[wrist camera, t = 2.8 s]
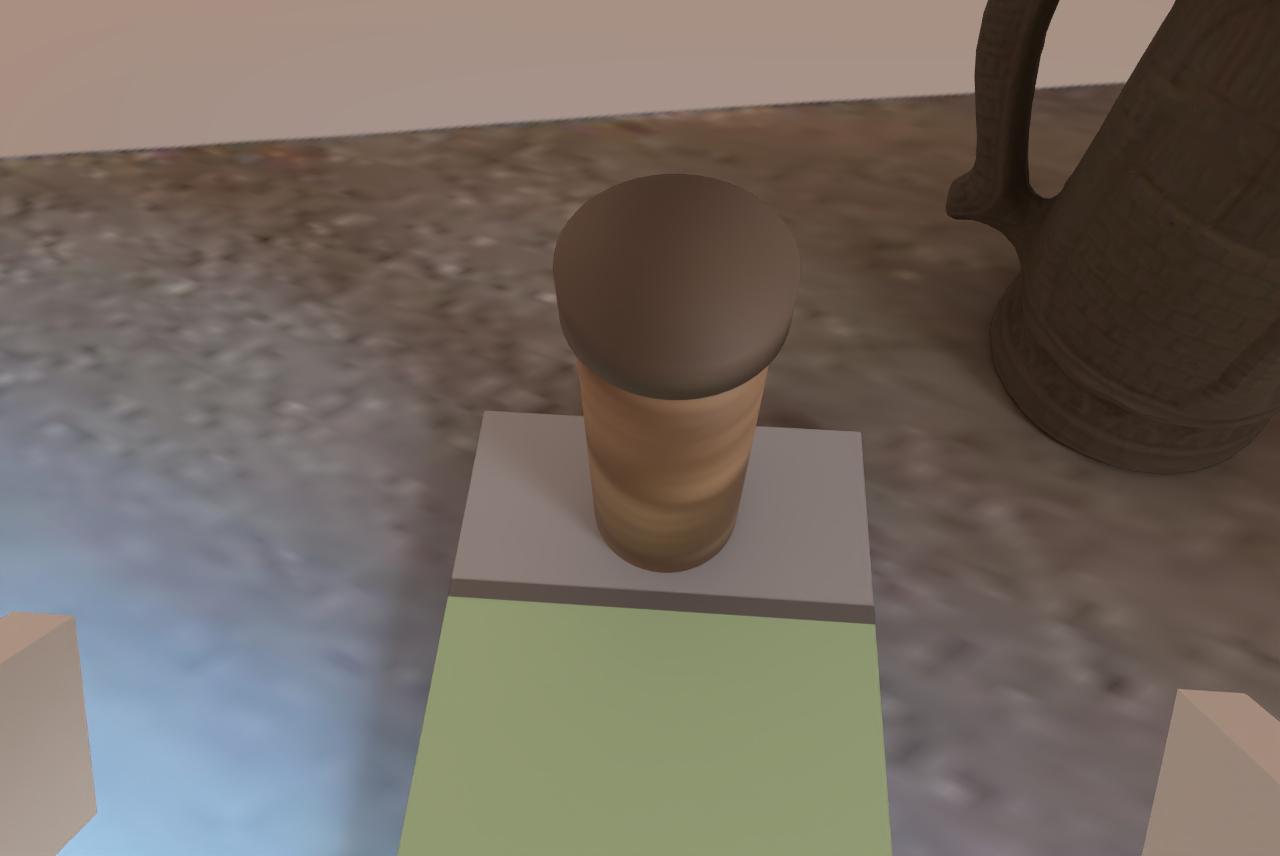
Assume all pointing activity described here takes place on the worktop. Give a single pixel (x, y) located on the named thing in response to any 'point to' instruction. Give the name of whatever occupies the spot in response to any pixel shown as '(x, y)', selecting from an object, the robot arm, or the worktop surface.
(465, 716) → the gauge board
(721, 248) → the wooden dark-capped post
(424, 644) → the worktop surface
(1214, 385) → the beer stein
